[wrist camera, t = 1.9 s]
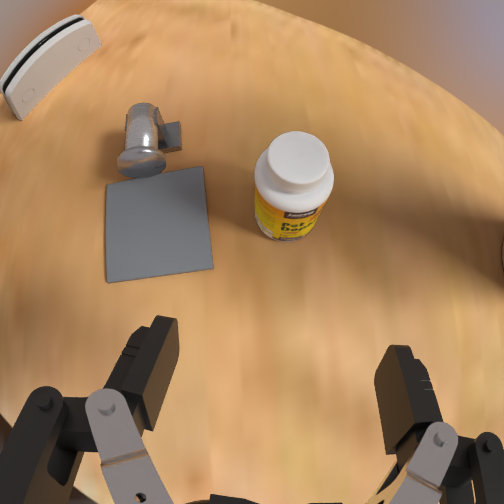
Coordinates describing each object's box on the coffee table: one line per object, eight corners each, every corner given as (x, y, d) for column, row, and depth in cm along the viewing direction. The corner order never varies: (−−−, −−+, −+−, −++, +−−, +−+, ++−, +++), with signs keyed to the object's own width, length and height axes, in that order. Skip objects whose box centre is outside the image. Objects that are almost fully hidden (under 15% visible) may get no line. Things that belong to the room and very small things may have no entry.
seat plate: (202, 168, 31) (202, 166, 30) (213, 268, 28) (213, 267, 28) (108, 186, 30) (107, 184, 30) (108, 283, 28) (107, 282, 27)
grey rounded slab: (87, 38, 38) (77, -2, 28) (104, 50, 39) (96, 9, 29) (10, 111, 35) (-17, 81, 25) (25, 126, 35) (-2, 96, 26)
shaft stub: (180, 125, 32) (167, 87, 26) (183, 180, 30) (167, 145, 24) (128, 136, 32) (107, 102, 26) (125, 191, 30) (100, 160, 24)
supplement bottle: (273, 255, 28) (282, 211, 18) (244, 203, 30) (237, 140, 20) (327, 226, 29) (359, 173, 19) (296, 177, 30) (311, 110, 20)
